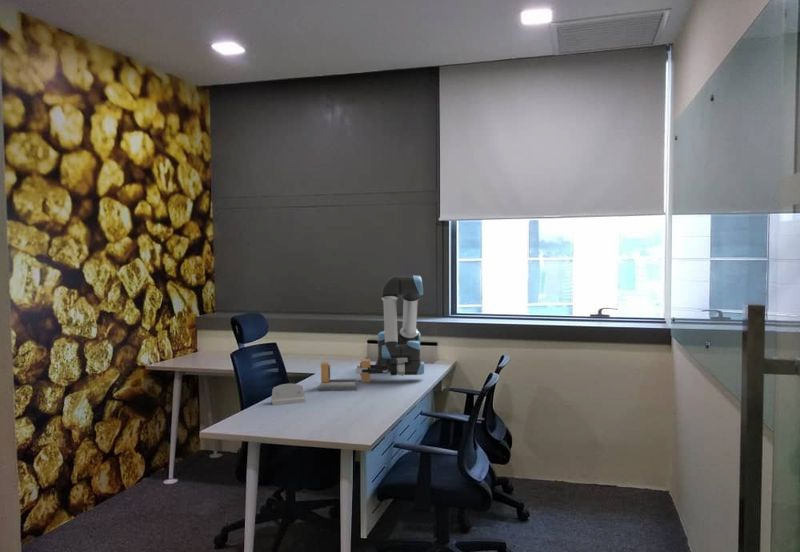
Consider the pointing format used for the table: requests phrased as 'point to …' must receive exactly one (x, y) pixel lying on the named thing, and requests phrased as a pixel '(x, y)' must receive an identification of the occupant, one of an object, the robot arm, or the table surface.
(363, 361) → the orange wooden block
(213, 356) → the table surface
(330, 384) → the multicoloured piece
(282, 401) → the hinge
